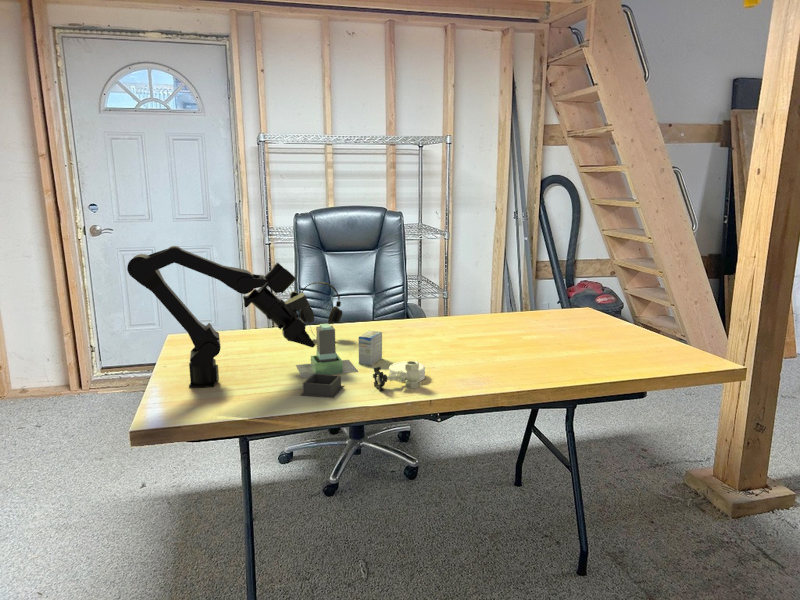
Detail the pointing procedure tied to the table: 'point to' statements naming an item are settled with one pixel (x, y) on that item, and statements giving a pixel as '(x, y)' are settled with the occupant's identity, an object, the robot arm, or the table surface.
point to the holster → (322, 386)
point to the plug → (325, 343)
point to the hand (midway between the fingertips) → (311, 341)
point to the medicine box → (370, 347)
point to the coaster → (401, 366)
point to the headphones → (335, 313)
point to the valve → (399, 376)
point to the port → (326, 367)
